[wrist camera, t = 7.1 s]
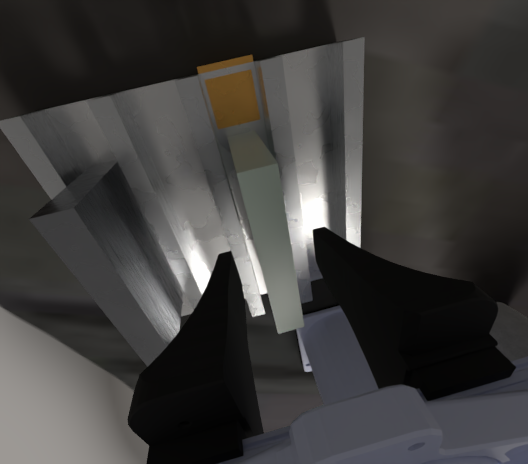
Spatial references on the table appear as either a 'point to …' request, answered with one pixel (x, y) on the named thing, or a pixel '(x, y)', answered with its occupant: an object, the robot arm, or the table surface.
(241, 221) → the rack
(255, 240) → the panel
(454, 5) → the table surface
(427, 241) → the table surface
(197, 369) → the robot arm
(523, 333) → the house plant
